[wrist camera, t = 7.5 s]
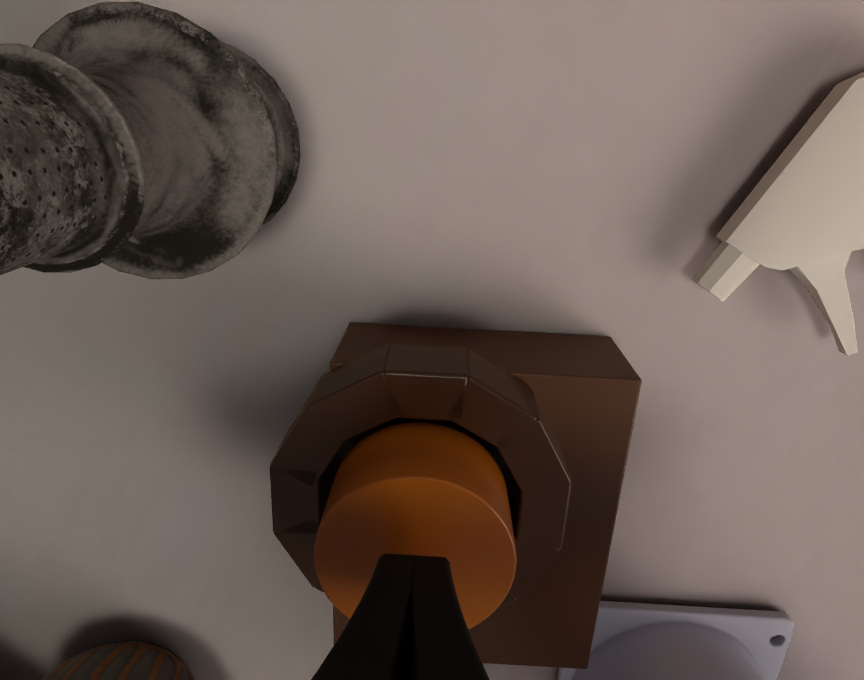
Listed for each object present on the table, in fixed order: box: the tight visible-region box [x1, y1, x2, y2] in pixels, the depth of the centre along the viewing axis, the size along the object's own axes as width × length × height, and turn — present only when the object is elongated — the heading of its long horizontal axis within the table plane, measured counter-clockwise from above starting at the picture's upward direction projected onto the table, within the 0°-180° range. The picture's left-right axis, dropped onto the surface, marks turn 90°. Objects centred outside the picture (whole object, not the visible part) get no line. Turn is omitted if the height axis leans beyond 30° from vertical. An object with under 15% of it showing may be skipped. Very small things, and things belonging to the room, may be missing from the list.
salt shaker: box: [0, 2, 300, 279], centre depth 11 cm, size 6×6×12 cm
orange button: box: [314, 422, 517, 629], centre depth 14 cm, size 4×4×2 cm
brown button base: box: [270, 323, 641, 669], centre depth 18 cm, size 11×9×5 cm
